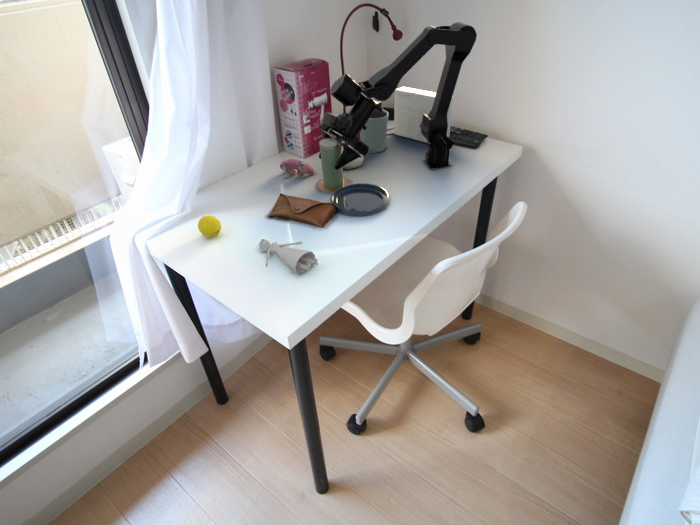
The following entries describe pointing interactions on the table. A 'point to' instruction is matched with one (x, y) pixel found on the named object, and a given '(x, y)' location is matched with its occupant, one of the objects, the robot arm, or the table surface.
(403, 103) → the skincare box
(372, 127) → the grey-green cup
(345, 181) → the coaster
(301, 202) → the sunglasses case
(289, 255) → the woman figurine
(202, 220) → the lemon
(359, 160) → the donut
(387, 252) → the table surface
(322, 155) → the tea tin
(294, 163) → the video game controller
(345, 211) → the plate
